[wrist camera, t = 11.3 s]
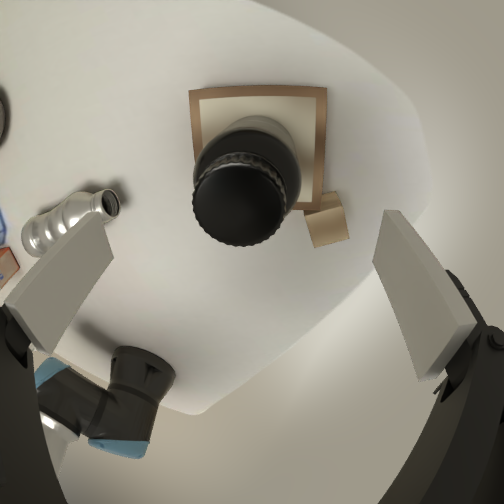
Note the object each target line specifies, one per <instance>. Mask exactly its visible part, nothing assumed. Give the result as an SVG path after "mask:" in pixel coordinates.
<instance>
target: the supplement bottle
mask: <svg viewBox="0 0 504 504" xmlns="http://www.w3.org/2000/svg"><path fill="white" fill-rule="evenodd" d="M193 184H194V189H195V190H194V192H193V194H192V195H193V200H192V205H193V212H194V213H195V218H196V220H197V221H198V222H199V225H200V226H201V227H202V228H203V229H204V231H205V232H206V233H208V234H209V235H210V236H211V237H212V238H214V239H217V240H218V241H219V242H223V243H225V244H226V245H233V246H235V247H237V246H242V247H246V246H253V245H255V244H258V243H261V242H263V241H264V240H267V239H269V237H270V236H271V235H274V234H275V232H276V230H277V229H279V228H280V224H281V223H282V221H283V220H284V218H285V217H286V216H287V215H288V214H289V213H290V212H291V210H292V209H293V208H294V206H295V204H296V202H297V200H298V198H299V195H300V191H301V185H302V175H301V169H300V164H299V160H298V156H297V152H296V148H295V144H294V141H293V139H292V137H291V135H290V133H289V132H288V131H287V129H286V128H285V127H284V126H283V125H281V124H280V123H279V122H277V121H275V120H273V119H271V118H268V117H264V116H248V117H244V118H241V119H239V120H237V121H235V122H233V123H232V124H231V125H229V126H228V127H227V128H225V129H224V130H223V131H221V132H220V133H219V134H218V135H216V136H215V137H214V138H213V139H211V140H210V141H209V142H208V143H207V144H206V146H205V147H204V148H203V149H202V151H201V152H200V154H199V156H198V158H197V160H196V163H195V166H194V172H193Z"/></svg>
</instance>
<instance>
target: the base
mask: <svg viewBox="0 0 504 504" xmlns="http://www.w3.org/2000/svg"><path fill="white" fill-rule="evenodd" d="M189 104H190V116H191V128H192V138H193V149H194V158H195V163H196V160H197V158H198V156H199V154H200V152H201V151H202V149H203V148H204V147H205V146H206V144H207V143H208V142H209V141H210V140H211V139H213V138H214V137H215V136H216V135H218V134H219V133H220V132H221V131H223V130H224V129H225V128H227V127H228V126H229V125H231V124H232V123H233V122H235V121H237V120H239V119H241V118H244V117H248V116H264V117H268V118H271V119H273V120H275V121H277V122H279V123H280V124H281V125H283V126H284V127H285V128H286V129H287V131H288V132H289V133H290V135H291V137H292V139H293V141H294V144H295V148H296V152H297V156H298V160H299V164H300V169H301V175H302V185H301V191H300V195H299V198H298V200H297V202H296V204H295V206H294V208H293V209H292V210H321V199H322V187H323V173H324V158H325V140H326V113H327V88H323V87H309V86H286V85H255V86H232V87H217V88H206V89H197V90H189Z"/></svg>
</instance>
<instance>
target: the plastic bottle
mask: <svg viewBox="0 0 504 504" xmlns="http://www.w3.org/2000/svg"><path fill="white" fill-rule="evenodd" d="M120 209H121V207H120V201H119V198H118V196H117V194H116V193H115V192H114V191H113V190H111V189H104V190H102V191H99V192H96V193H95V194H91V193H89V192H84V191H82V192H75V193H73V194H72V195H70V196H69V197H68V198H66V199H65V200H64V201H63V202H62V203H61V204H60V205H59V206H57V207H56V208H54V209H53V210H51V211H50V212H47V213H45V214H42V215H38V216H35V217H32V218H30V219H29V220H28V221H27V222H26V224H25V225H24V227H23V229H22V233H21V239H22V244H23V246H24V248H25V250H26V251H27V253H28V254H29V255H31V256H33V257H36V258H41V257H42V256H43V255H44V254H45V253H46V252H47V251H48V250H49V249H50V248H51V247H52V246H53V245H54V244H55V243H56V242H57V241H58V240H59V239H60V238H61V237H62V236H63V235H64V234H65V233H66V232H67V231H68V230H69V229H70V228H71V227H72V226H73V225H74V224H75V223H76V222H78V221H79V220H80V219H81V218H82V217H83V216H84V215H85V214H86V213H88V212H95V211H99V212H100V215H101V219H102V222H103V225H104V223H106V222H109V221H110V220H112V219H114V218H116V217H117V216H118V215H119V213H120Z"/></svg>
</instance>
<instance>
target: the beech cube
mask: <svg viewBox="0 0 504 504" xmlns="http://www.w3.org/2000/svg"><path fill="white" fill-rule="evenodd" d="M303 211H304V216H305V219H306V222H307V226H308V229H309V232H310V236H311V239H312V242H313V246H314V248H316V247H320V246H324V245H327V244H331V243H335V242H338V241H342V240H346V239H349V233H348V229H347V224H346V219H345V215H344V210H343V206H342V204H341V202H340V200H339V198H338V196H337V194H336V192H335V191H334V192H330V193H326V194H323V195H322V199H321V210H303Z"/></svg>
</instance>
